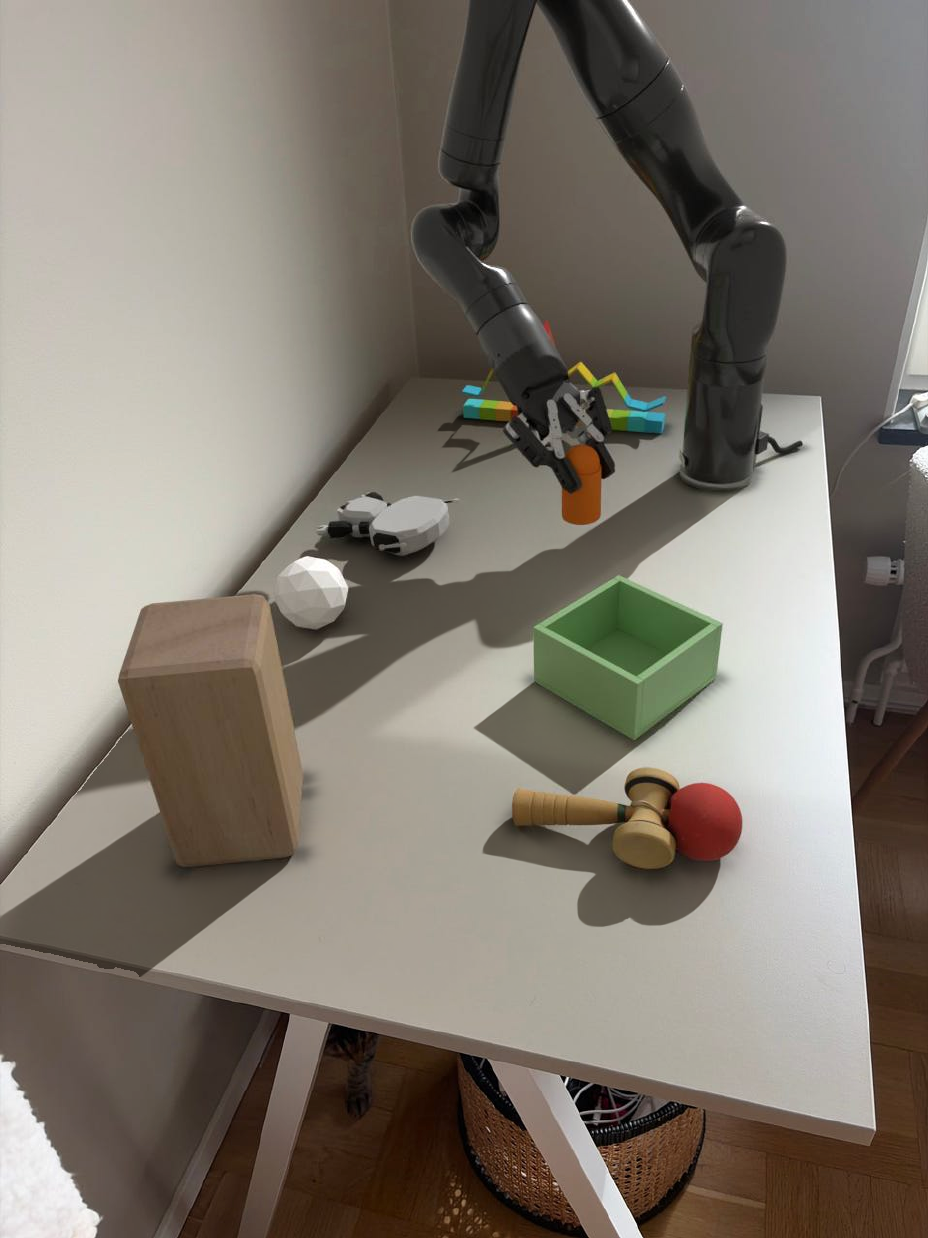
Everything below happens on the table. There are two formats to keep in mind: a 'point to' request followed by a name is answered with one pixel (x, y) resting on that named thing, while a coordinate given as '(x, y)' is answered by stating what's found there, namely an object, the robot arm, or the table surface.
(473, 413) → the chart
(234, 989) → the table surface
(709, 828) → the kendama
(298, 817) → the block
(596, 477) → the orange peg figure
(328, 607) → the geometric ball
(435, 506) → the robot toy
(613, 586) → the bin
